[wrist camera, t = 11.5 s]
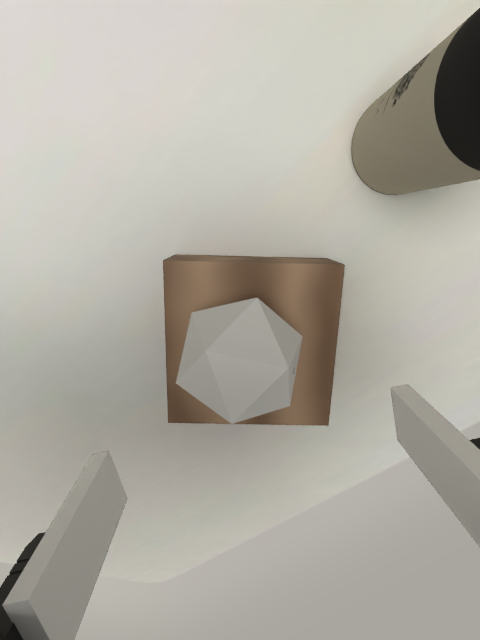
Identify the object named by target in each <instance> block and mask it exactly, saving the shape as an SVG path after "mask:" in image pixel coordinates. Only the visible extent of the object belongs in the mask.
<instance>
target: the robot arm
mask: <svg viewBox="0 0 480 640" xmlns="http://www.w3.org/2000/svg"><path fill="white" fill-rule="evenodd" d="M391 395H392V403H393V410H394V418H395V426H396V433H397V440H398V442H399V443H400V444H401V445H402V447H403V448H404V449H405V451H406V452H407V453H408V455H409V456H410V457H411V458H412V460H413V461H414V462H415V464H416V465H417V466H418V468H419V469H420V470H421V471H422V473H423V474H424V475H425V476H426V478H427V479H428V481H429V482H430V483H431V484H432V486H433V487H434V488H435V490H436V491H437V492H438V494H439V495H440V496H441V498H442V499H443V500H444V501H445V503H446V504H447V505H448V507H449V508H450V509H451V511H452V512H453V513H454V514H455V516H456V517H457V518H458V520H459V521H460V522H461V524H462V525H463V526H464V527H465V529H466V530H467V531H468V533H469V534H470V535H471V537H472V538H473V539H474V540H475V542H476V543H477V544H478V546H479V547H480V438H477V439H472V440H469V439H467V438H466V437H465V436H464V435H463V434H462V433H461V432H460V431H459V430H458V429H456V428H455V427H454V426H453V425H452V424H451V423H450V422H449V421H448V420H447V419H445V418H444V417H443V416H442V415H441V414H440V413H439V412H438V411H437V410H436V409H434V408H433V407H432V406H431V405H430V404H429V403H428V402H427V401H426V400H425V399H423V398H422V397H421V396H420V395H419V394H418V393H417V392H416V391H415V390H414V389H412V388H411V387H410V386H409V385H408V384H405V385H401V386H396V387H392V388H391ZM126 501H127V496H126V494H125V491H124V489H123V486H122V484H121V481H120V478H119V476H118V473H117V471H116V468H115V466H114V463H113V461H112V458H111V455H110V453H109V451H105V452H100V453H96V454H92V456H91V458H90V459H89V461H88V463H87V464H86V466H85V468H84V469H83V471H82V473H81V474H80V476H79V478H78V480H77V481H76V483H75V485H74V486H73V488H72V490H71V491H70V493H69V495H68V496H67V498H66V500H65V501H64V503H63V505H62V506H61V508H60V510H59V511H58V513H57V515H56V516H55V518H54V520H53V521H52V523H51V525H50V526H49V528H48V530H47V531H46V532H44V533H40V534H38V535H37V536H36V537H35V538H34V539H33V540H32V541H31V542H30V543H29V544H28V545H27V546H26V548H25V549H24V551H23V552H22V554H21V555H20V557H19V559H18V560H17V564H15V565H14V566H13V568H12V570H11V571H10V575H9V576H7V578H6V579H5V581H4V582H3V584H2V586H1V587H0V640H74V639H75V636H76V634H77V631H78V629H79V626H80V623H81V621H82V618H83V615H84V613H85V610H86V607H87V605H88V602H89V600H90V597H91V594H92V591H93V589H94V586H95V583H96V581H97V578H98V576H99V573H100V570H101V568H102V565H103V562H104V560H105V557H106V554H107V552H108V549H109V546H110V544H111V541H112V538H113V536H114V533H115V530H116V528H117V525H118V522H119V520H120V517H121V514H122V512H123V509H124V506H125V504H126Z"/></svg>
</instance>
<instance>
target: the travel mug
mask: <svg viewBox="0 0 480 640" xmlns="http://www.w3.org/2000/svg"><path fill="white" fill-rule="evenodd" d="M352 157H353V162H354V165H355V168H356V170H357V173H358V174H359V176H360V177H361V179H362V180H363V181H364V182H365V183H366V184H367V185H368V186H369V187H371V188H372V189H374V190H376V191H378V192H380V193H384V194H390V195H398V194H404V193H409V192H415V191H420V190H425V189H431V188H436V187H441V186H446V185H452V184H457V183H462V182H468V181H473V180H478V179H480V8H479V9H478V10H477V11H476V12H475V13H474V14H473V15H471V16H470V17H469V18H468V19H467V20H466V21H465V22H464V23H462V24H461V25H460V26H459V27H458V28H457V29H456V30H455V31H454V32H452V33H451V34H450V35H449V36H448V37H447V38H446V39H445V40H443V41H442V42H441V43H440V44H439V45H438V46H437V47H436V48H435V49H433V50H432V51H431V52H430V53H429V54H428V55H427V56H426V57H424V58H423V59H422V60H421V61H420V62H419V63H418V64H417V65H416V66H414V67H413V68H412V69H411V70H410V71H409V72H408V73H407V74H405V75H404V76H403V77H402V78H401V79H400V80H399V81H398V82H397V83H395V84H394V85H393V86H392V87H391V88H390V89H389V90H388V91H386V92H385V93H384V94H383V95H382V96H381V97H380V98H379V99H378V100H376V101H375V102H374V103H373V104H372V105H371V106H370V107H369V108H368V109H367V110H366V111H365V113H364V114H363V115H362V117H361V118H360V120H359V122H358V124H357V126H356V129H355V132H354V136H353V141H352Z"/></svg>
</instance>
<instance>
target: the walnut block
mask: <svg viewBox="0 0 480 640" xmlns="http://www.w3.org/2000/svg"><path fill="white" fill-rule="evenodd" d="M344 267H345V265H344V264H341V263H338V262H336V261H333V260H330V259H327V258H292V257H251V256H210V255H174V256H171V257H169V258H167V259H165V260H163V273H164V304H165V336H166V367H167V399H168V423H215V424H231V423H230V422H228V421H227V420H225V419H224V418H223V417H221V416H220V415H219V414H217V413H216V412H215V411H213V410H212V409H210V408H209V407H208V406H206V405H205V404H204V403H202V402H201V401H199V400H198V399H197V398H195V397H194V396H193V395H191V394H190V393H188V392H187V391H186V390H184V389H183V388H182V387H180V386H179V385H178V384H176V380H177V376H178V371H179V367H180V362H181V358H182V353H183V349H184V344H185V340H186V335H187V331H188V327H189V322H190V318H191V313H192V312H196V311H200V310H204V309H209V308H213V307H217V306H222V305H226V304H231V303H235V302H239V301H244V300H248V299H252V298H258V299H260V300H261V301H262V302H263V303H264V304H265V305H267V306H268V307H269V308H270V309H271V310H272V311H274V312H275V313H276V314H277V315H278V316H279V317H281V318H282V319H283V320H284V321H285V322H287V323H288V324H289V325H290V326H291V327H292V328H294V329H295V330H296V331H297V332H298V333H299V334H301V335H302V336H303V337H302V342H301V348H300V353H299V359H298V364H297V370H296V375H295V381H294V386H293V392H292V397H291V403H290V406H288V407H285V408H282V409H279V410H275V411H272V412H269V413H266V414H262V415H259V416H256V417H253V418H249V419H246V420H243V421H240V422H237V423H233V424H271V425H327V426H328V424H329V414H330V405H331V395H332V385H333V375H334V365H335V355H336V346H337V336H338V326H339V316H340V306H341V297H342V287H343V277H344Z"/></svg>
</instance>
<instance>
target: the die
mask: <svg viewBox="0 0 480 640" xmlns="http://www.w3.org/2000/svg"><path fill="white" fill-rule="evenodd" d="M302 337H303V336H302V335H301V334H299V333H298V332H297V331H296V330H295V329H294V328H292V327H291V326H290V325H289V324H288V323H287V322H285V321H284V320H283V319H282V318H281V317H279V316H278V315H277V314H276V313H275V312H274V311H272V310H271V309H270V308H269V307H268V306H267V305H265V304H264V303H263V302H262V301H261V300H260V299H258V298H252V299H248V300H244V301H239V302H235V303H231V304H226V305H222V306H217V307H213V308H209V309H204V310H200V311H196V312H192V313H191V318H190V322H189V327H188V331H187V335H186V340H185V344H184V349H183V353H182V358H181V362H180V367H179V371H178V376H177V380H176V384H178V385H179V386H180V387H182V388H183V389H184V390H186V391H187V392H188V393H190V394H191V395H193V396H194V397H195V398H197V399H198V400H199V401H201V402H202V403H204V404H205V405H206V406H208V407H209V408H210V409H212V410H213V411H215V412H216V413H217V414H219V415H220V416H221V417H223V418H224V419H225V420H227V421H228V422H230V423H231V424H233V423H237V422H240V421H243V420H246V419H249V418H253V417H256V416H259V415H262V414H266V413H269V412H272V411H275V410H279V409H282V408H285V407H288V406H290V403H291V397H292V392H293V386H294V381H295V375H296V370H297V364H298V359H299V353H300V348H301V342H302Z"/></svg>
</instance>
